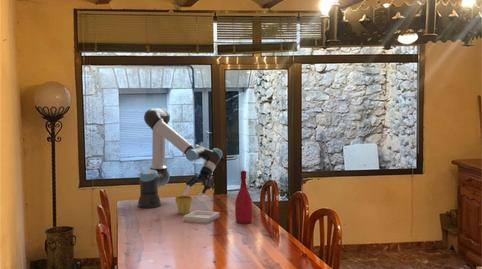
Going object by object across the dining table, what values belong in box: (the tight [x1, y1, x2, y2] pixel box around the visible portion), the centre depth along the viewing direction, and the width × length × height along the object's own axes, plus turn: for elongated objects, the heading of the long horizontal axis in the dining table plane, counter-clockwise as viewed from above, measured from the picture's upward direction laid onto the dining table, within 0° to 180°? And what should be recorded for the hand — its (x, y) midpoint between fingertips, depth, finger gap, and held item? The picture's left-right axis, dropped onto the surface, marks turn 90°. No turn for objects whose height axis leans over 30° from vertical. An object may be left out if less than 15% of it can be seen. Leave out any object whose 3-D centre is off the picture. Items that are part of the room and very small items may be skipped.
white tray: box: [183, 209, 220, 224], centre depth 307 cm, size 16×16×3 cm
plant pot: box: [175, 195, 193, 215], centre depth 325 cm, size 10×10×10 cm
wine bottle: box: [234, 170, 253, 224], centre depth 299 cm, size 10×10×30 cm
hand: (191, 195), depth 328 cm, fingers open, 13 cm apart
